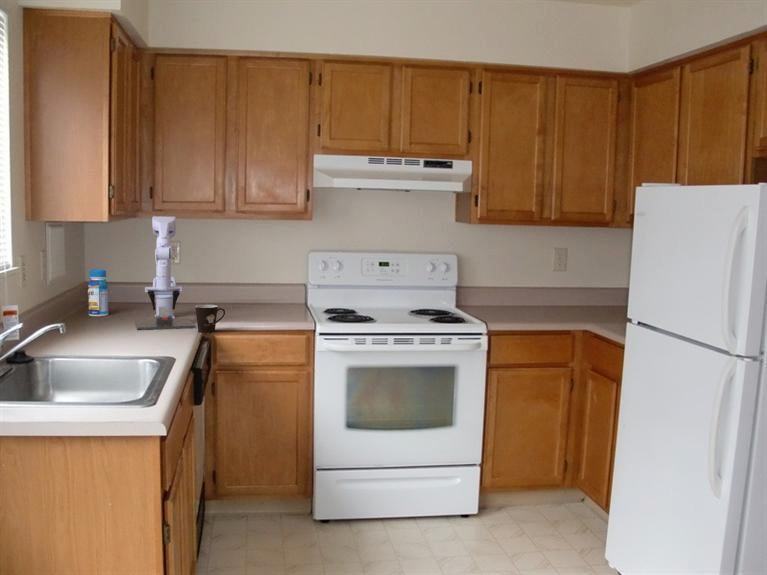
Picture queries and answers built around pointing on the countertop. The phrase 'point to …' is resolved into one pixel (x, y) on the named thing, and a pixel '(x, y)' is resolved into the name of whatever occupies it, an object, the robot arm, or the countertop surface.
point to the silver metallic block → (164, 311)
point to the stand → (163, 323)
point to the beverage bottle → (98, 293)
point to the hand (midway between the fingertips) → (163, 309)
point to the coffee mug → (207, 317)
